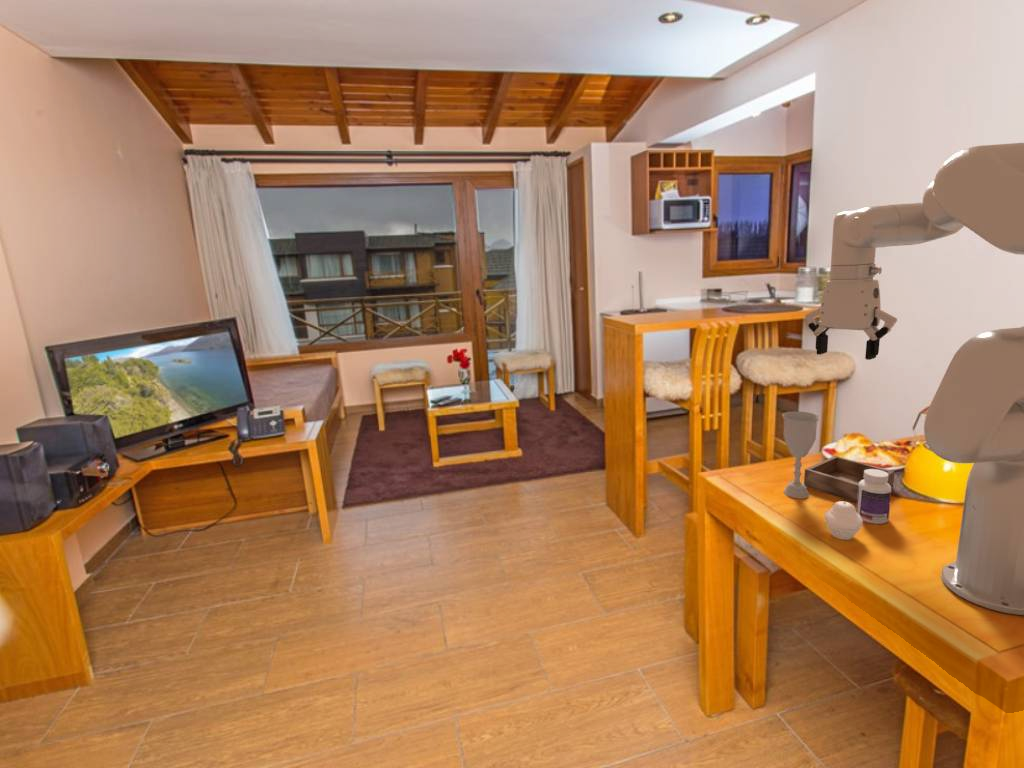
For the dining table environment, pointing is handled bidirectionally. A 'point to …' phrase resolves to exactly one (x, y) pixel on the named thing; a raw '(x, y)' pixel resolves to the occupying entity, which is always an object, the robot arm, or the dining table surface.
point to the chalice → (799, 445)
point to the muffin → (843, 520)
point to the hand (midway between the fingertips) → (845, 356)
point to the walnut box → (840, 477)
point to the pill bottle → (874, 497)
